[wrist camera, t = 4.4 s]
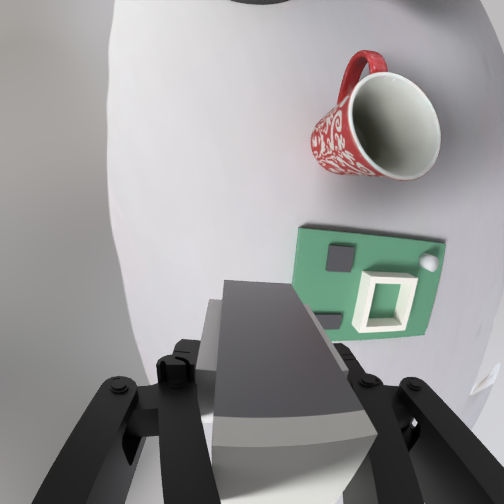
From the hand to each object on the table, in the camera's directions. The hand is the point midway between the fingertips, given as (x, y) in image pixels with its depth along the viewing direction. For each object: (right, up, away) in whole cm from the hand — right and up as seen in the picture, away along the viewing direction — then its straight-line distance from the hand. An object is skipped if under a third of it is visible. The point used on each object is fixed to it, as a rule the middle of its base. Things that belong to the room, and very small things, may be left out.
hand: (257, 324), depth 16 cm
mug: (+10, +18, +15) cm, 26 cm away
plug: (0, 0, +2) cm, 2 cm away
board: (+15, -1, +19) cm, 25 cm away
